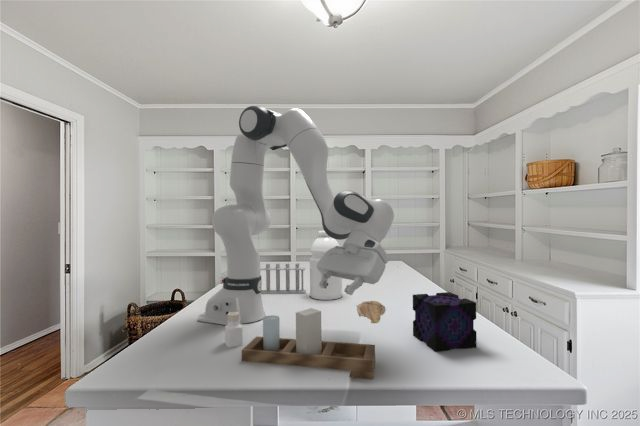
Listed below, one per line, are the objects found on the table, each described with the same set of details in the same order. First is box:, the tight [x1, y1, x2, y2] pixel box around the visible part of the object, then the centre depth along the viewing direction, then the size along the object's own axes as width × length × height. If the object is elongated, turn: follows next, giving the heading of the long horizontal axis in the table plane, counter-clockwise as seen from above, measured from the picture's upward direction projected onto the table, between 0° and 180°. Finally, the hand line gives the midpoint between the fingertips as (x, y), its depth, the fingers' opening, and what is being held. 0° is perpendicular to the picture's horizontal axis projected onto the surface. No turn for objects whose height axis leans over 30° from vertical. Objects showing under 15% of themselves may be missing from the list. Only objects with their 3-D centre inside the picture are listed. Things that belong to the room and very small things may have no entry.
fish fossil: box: [356, 300, 386, 324], centre depth 123 cm, size 26×10×1 cm, turn 177°
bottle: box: [309, 230, 343, 301], centre depth 147 cm, size 14×14×28 cm
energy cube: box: [412, 291, 477, 353], centre depth 95 cm, size 12×12×12 cm
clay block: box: [295, 307, 323, 355], centre depth 82 cm, size 4×5×11 cm
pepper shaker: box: [224, 312, 244, 348], centre depth 91 cm, size 4×4×10 cm
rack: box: [241, 336, 376, 380], centre depth 82 cm, size 30×9×4 cm, turn 78°
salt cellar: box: [262, 314, 281, 352], centre depth 84 cm, size 4×4×9 cm
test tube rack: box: [260, 262, 307, 295], centre depth 155 cm, size 25×4×13 cm, turn 88°
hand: (334, 290), depth 88 cm, fingers open, 8 cm apart
